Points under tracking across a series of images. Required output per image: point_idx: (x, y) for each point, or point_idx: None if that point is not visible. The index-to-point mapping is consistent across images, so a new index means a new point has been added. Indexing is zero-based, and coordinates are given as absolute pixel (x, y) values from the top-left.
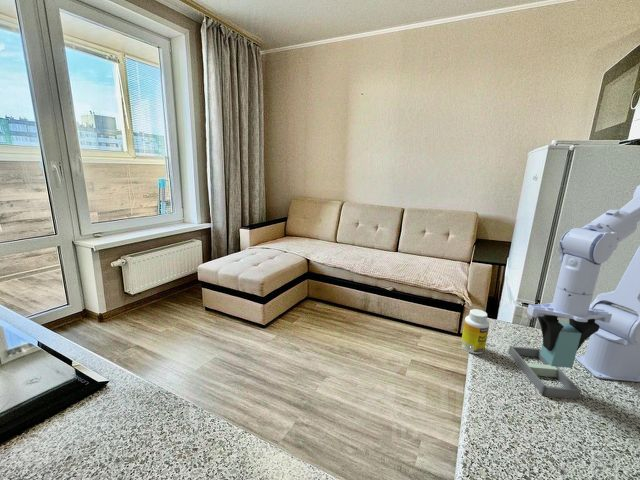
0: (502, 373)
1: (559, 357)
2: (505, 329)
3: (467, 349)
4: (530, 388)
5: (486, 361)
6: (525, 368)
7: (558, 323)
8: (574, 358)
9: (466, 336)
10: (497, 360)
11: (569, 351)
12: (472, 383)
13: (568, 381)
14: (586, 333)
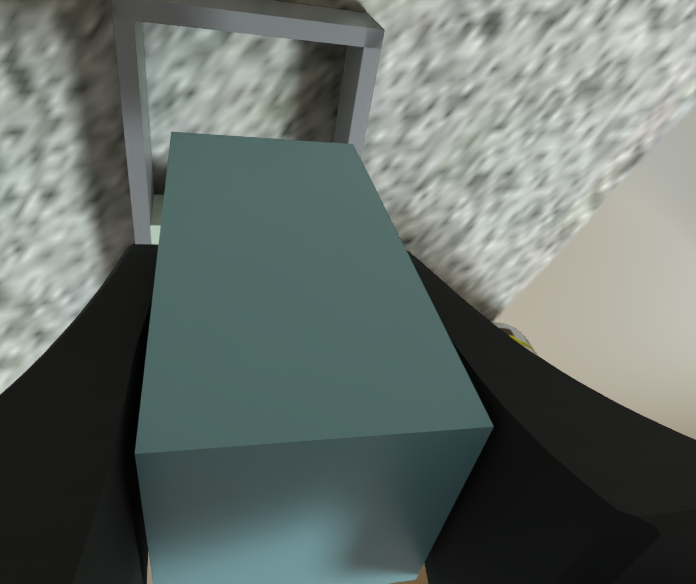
0: (463, 197)
1: (319, 188)
2: None
3: (526, 339)
4: (394, 80)
5: (475, 278)
6: None
7: (657, 568)
8: (166, 183)
9: None
10: None
11: (244, 227)
12: (687, 104)
13: (142, 112)
14: (50, 460)
